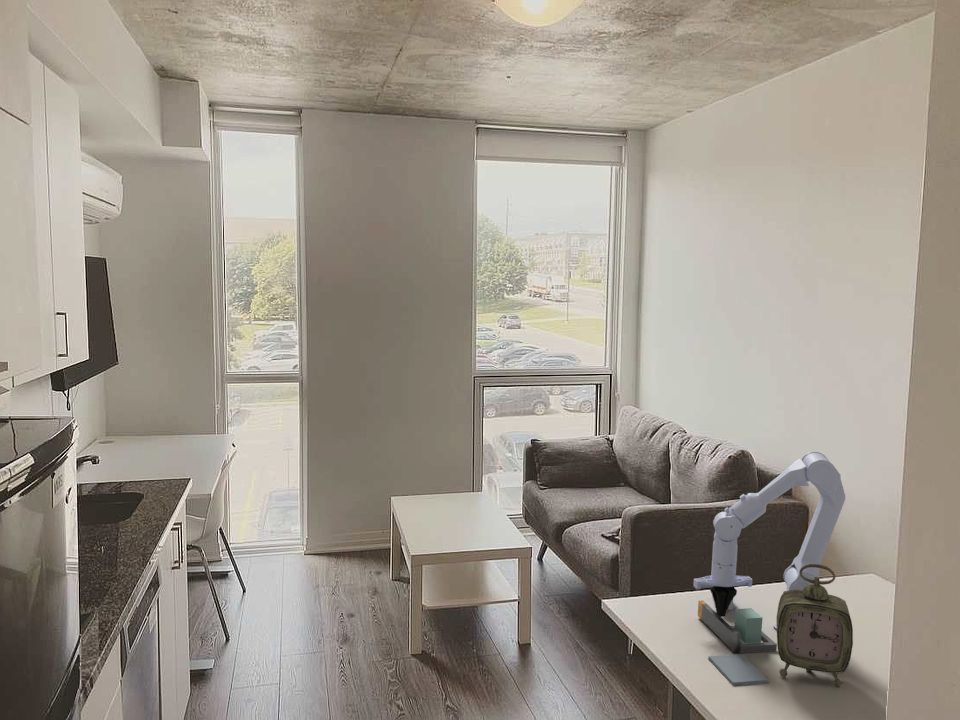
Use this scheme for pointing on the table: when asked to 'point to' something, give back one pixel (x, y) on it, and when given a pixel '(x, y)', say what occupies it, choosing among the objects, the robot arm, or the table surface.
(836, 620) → the tabletop clock
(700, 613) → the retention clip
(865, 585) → the table surface
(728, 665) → the mat
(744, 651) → the dock
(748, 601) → the table surface
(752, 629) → the plug
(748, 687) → the table surface
